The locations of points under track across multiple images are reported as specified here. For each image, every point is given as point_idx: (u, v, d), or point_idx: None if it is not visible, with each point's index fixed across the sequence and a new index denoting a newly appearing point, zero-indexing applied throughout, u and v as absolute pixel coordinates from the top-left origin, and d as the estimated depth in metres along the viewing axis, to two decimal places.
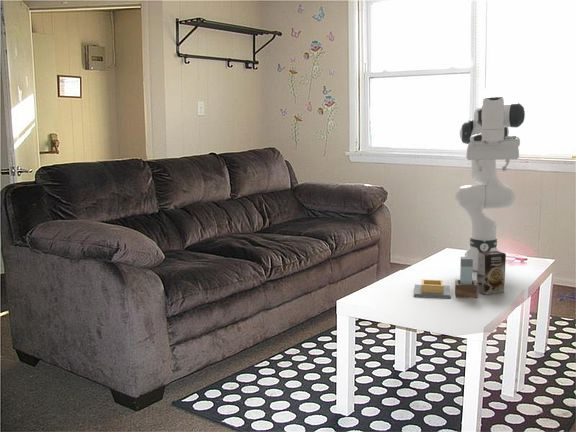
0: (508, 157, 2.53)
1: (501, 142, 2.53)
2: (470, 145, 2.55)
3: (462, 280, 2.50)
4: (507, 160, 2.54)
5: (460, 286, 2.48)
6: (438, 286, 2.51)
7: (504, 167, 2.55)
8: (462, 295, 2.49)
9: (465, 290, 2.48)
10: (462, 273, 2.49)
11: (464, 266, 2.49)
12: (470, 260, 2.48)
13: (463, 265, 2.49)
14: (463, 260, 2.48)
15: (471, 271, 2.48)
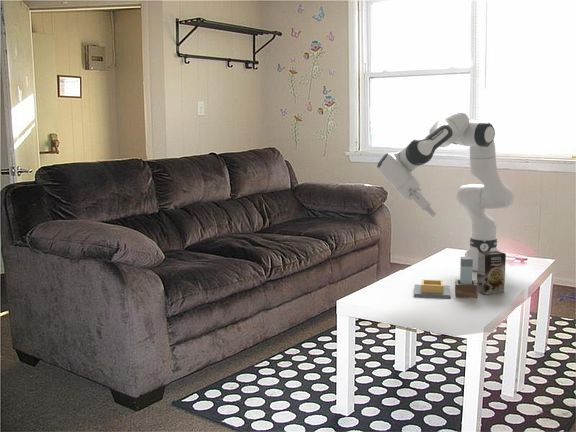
0: None
1: (410, 196, 2.47)
2: None
3: (462, 280, 2.50)
4: (425, 209, 2.45)
5: (460, 286, 2.48)
6: (438, 286, 2.51)
7: (430, 214, 2.46)
8: (462, 295, 2.49)
9: (465, 290, 2.48)
10: (462, 273, 2.49)
11: (464, 266, 2.49)
12: (470, 260, 2.48)
13: (463, 265, 2.49)
14: (463, 260, 2.48)
15: (471, 271, 2.48)
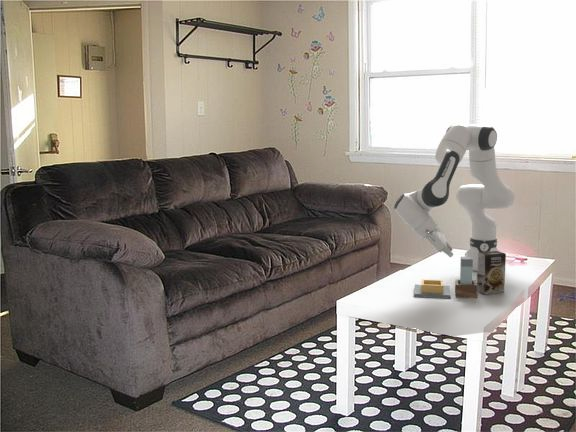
0: None
1: (427, 237, 2.49)
2: None
3: (462, 280, 2.50)
4: (442, 250, 2.46)
5: (460, 286, 2.48)
6: (438, 286, 2.51)
7: None
8: (462, 295, 2.49)
9: (465, 290, 2.48)
10: (462, 273, 2.49)
11: (464, 266, 2.49)
12: (470, 260, 2.48)
13: (463, 265, 2.49)
14: (463, 260, 2.48)
15: (471, 271, 2.48)
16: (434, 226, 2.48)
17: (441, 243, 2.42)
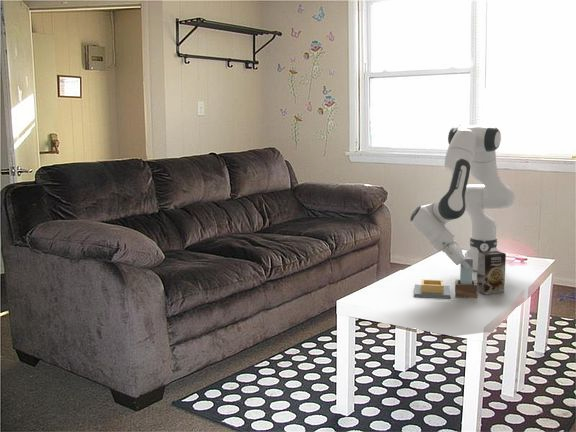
0: None
1: (444, 249, 2.48)
2: None
3: (462, 280, 2.50)
4: None
5: (460, 286, 2.48)
6: (438, 286, 2.51)
7: None
8: (462, 295, 2.49)
9: (465, 290, 2.48)
10: (462, 273, 2.49)
11: None
12: (470, 260, 2.48)
13: None
14: None
15: (471, 271, 2.48)
16: (451, 238, 2.47)
17: (458, 256, 2.41)
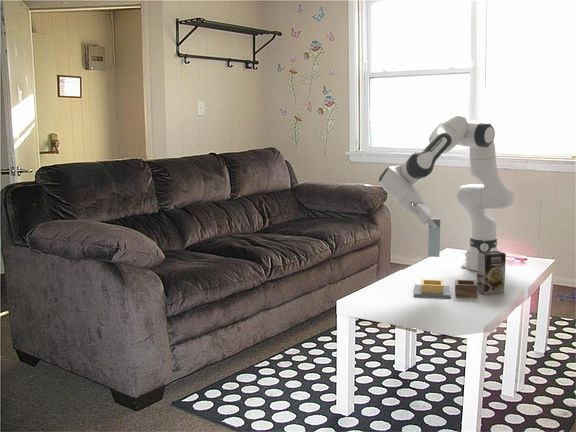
0: None
1: None
2: None
3: (430, 240, 2.51)
4: (426, 221, 2.48)
5: (460, 286, 2.48)
6: (438, 286, 2.51)
7: None
8: (462, 295, 2.49)
9: (465, 290, 2.48)
10: (430, 233, 2.50)
11: None
12: (438, 220, 2.49)
13: None
14: None
15: (439, 231, 2.49)
16: (418, 198, 2.48)
17: (425, 215, 2.42)
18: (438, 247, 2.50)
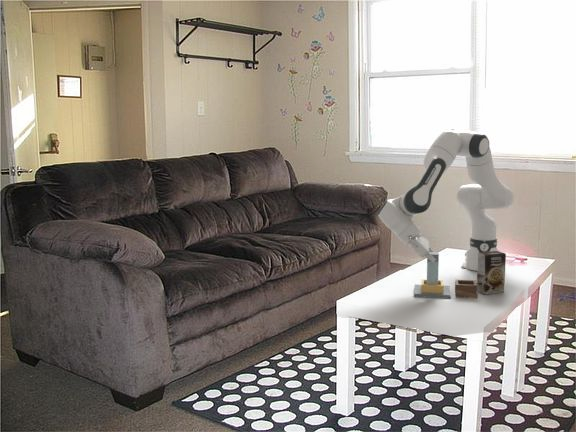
0: None
1: (410, 242, 2.52)
2: None
3: (428, 275, 2.53)
4: (425, 255, 2.49)
5: (460, 286, 2.48)
6: (438, 286, 2.51)
7: None
8: (462, 295, 2.49)
9: (465, 290, 2.48)
10: (428, 268, 2.53)
11: (430, 261, 2.52)
12: (436, 255, 2.51)
13: (429, 260, 2.52)
14: None
15: (437, 266, 2.52)
16: (417, 232, 2.51)
17: (423, 249, 2.44)
18: (436, 282, 2.53)
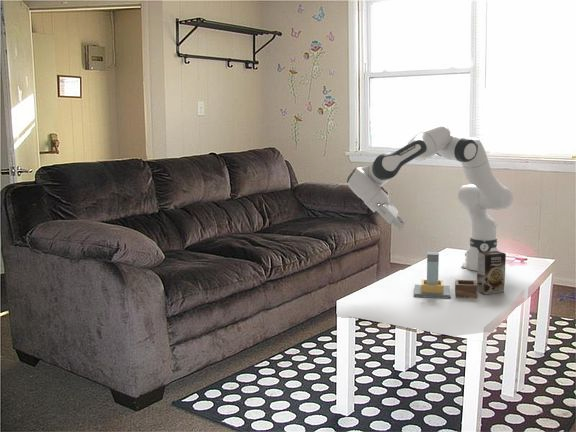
0: None
1: None
2: None
3: (428, 275, 2.53)
4: (393, 223, 2.49)
5: (460, 286, 2.48)
6: (438, 286, 2.51)
7: None
8: (462, 295, 2.49)
9: (465, 290, 2.48)
10: (428, 268, 2.53)
11: (430, 261, 2.52)
12: (436, 255, 2.51)
13: (429, 260, 2.52)
14: (429, 255, 2.52)
15: (437, 266, 2.52)
16: (385, 199, 2.51)
17: (391, 215, 2.45)
18: (436, 282, 2.53)
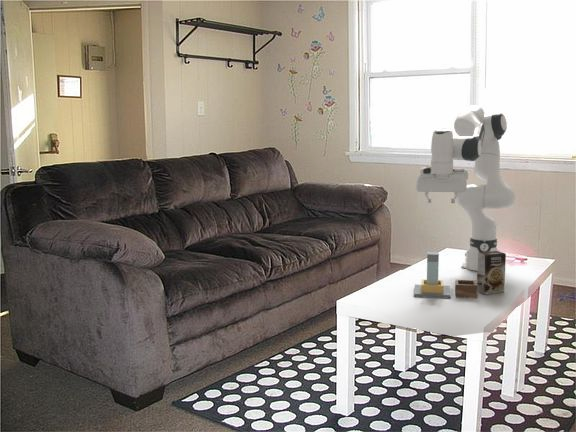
0: (456, 190, 2.57)
1: (450, 175, 2.57)
2: (420, 177, 2.59)
3: (428, 275, 2.53)
4: (456, 193, 2.58)
5: (460, 286, 2.48)
6: (438, 286, 2.51)
7: (453, 199, 2.59)
8: (462, 295, 2.49)
9: (465, 290, 2.48)
10: (428, 268, 2.53)
11: (430, 261, 2.52)
12: (436, 255, 2.51)
13: (429, 260, 2.52)
14: (429, 255, 2.52)
15: (437, 266, 2.52)
16: None
17: None
18: (436, 282, 2.53)
